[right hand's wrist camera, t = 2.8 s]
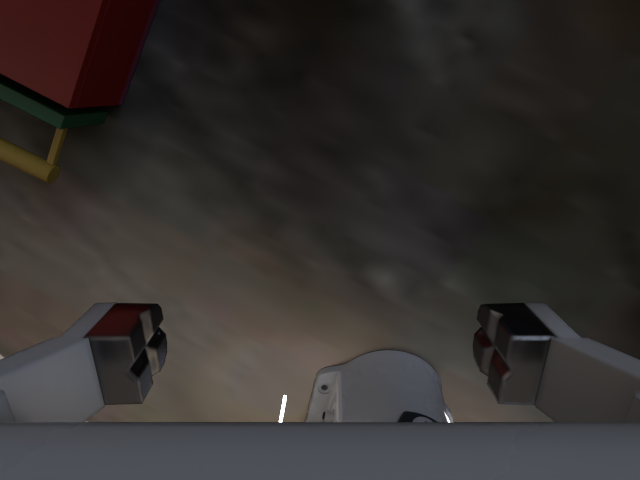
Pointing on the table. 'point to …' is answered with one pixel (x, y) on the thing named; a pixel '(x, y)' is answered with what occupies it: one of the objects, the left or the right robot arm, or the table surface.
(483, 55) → the table surface
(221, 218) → the table surface
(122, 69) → the dark red block
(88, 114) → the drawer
